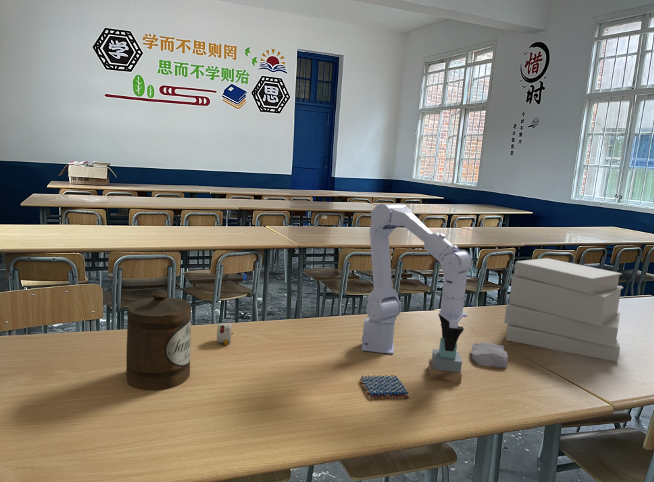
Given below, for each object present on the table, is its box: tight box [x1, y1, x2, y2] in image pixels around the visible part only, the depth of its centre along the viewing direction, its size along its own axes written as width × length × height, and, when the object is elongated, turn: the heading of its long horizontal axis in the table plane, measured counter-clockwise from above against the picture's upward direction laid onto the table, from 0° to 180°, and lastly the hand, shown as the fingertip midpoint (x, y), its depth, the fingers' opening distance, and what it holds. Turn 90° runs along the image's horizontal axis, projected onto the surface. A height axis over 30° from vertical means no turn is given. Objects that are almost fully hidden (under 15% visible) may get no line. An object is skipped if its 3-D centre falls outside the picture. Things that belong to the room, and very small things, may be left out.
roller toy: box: [216, 322, 234, 346], centre depth 143 cm, size 4×6×6 cm
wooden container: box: [125, 289, 192, 391], centre depth 117 cm, size 15×15×22 cm
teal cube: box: [438, 337, 458, 359], centre depth 129 cm, size 4×4×4 cm
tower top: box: [431, 348, 463, 373], centre depth 130 cm, size 7×7×3 cm
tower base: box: [427, 357, 463, 384], centre depth 131 cm, size 8×8×3 cm
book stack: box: [503, 257, 624, 363], centre depth 162 cm, size 30×35×26 cm
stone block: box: [470, 342, 509, 369], centre depth 144 cm, size 12×5×10 cm
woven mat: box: [359, 374, 410, 400], centre depth 120 cm, size 10×11×2 cm
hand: (447, 345), depth 129 cm, fingers open, 7 cm apart
